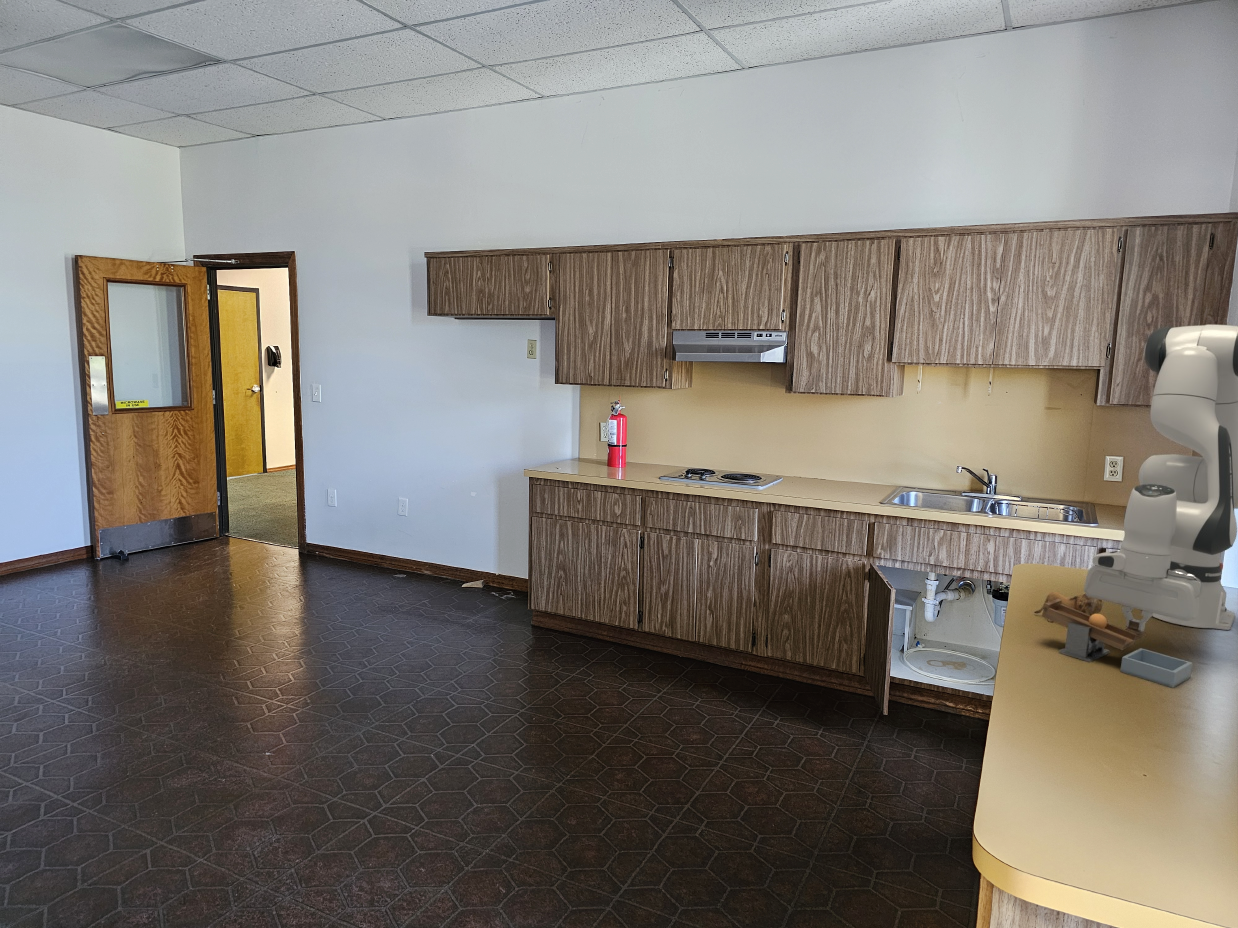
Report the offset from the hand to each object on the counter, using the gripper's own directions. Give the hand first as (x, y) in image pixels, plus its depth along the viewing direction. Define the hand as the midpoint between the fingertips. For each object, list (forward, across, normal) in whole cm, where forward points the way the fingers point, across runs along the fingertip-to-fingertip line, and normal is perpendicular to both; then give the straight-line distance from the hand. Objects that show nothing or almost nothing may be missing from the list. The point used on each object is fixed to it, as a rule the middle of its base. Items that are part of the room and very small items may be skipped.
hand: (1134, 628), depth 167 cm
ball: (-2, +4, +8) cm, 9 cm away
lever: (+1, +6, +4) cm, 8 cm away
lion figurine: (+6, +16, -9) cm, 19 cm away
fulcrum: (+6, +6, +8) cm, 11 cm away
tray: (+6, -7, +8) cm, 12 cm away
